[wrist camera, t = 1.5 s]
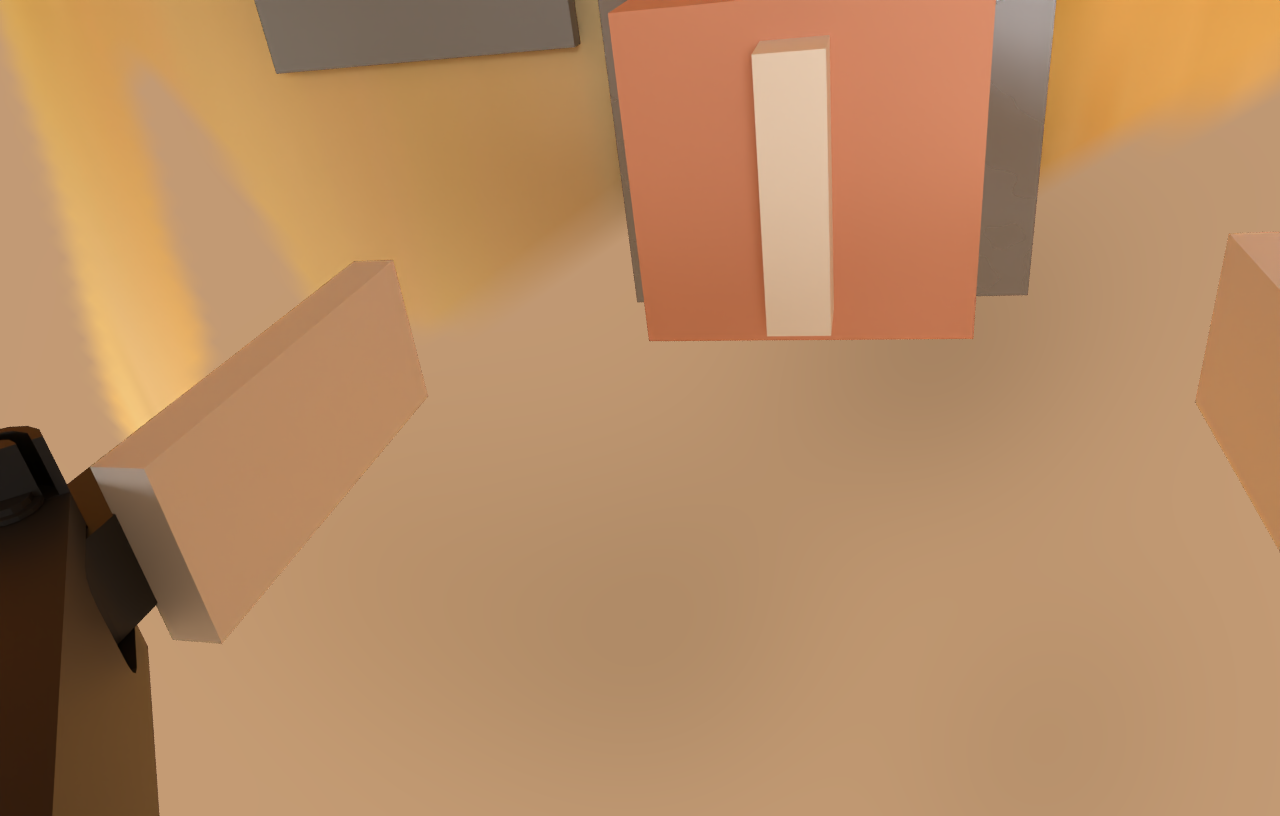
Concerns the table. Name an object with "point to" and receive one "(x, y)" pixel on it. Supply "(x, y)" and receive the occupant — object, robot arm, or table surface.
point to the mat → (409, 30)
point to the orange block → (805, 164)
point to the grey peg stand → (1008, 144)
